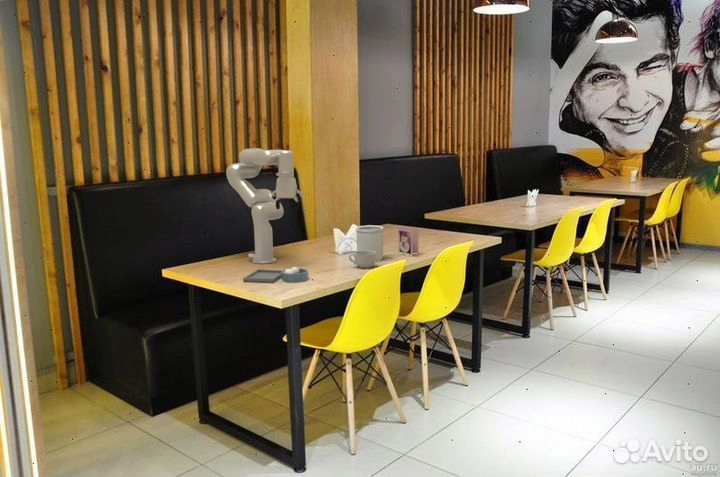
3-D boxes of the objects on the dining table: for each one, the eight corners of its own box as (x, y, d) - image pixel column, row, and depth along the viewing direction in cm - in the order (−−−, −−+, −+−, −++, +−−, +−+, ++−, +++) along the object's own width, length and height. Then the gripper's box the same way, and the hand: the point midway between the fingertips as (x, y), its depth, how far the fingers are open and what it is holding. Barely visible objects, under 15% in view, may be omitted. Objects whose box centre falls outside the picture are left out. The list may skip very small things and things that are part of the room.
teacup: (375, 264, 333) (375, 249, 332) (376, 269, 323) (376, 253, 321) (348, 265, 333) (348, 250, 331) (349, 269, 322) (348, 254, 321)
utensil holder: (381, 262, 338) (381, 229, 335) (353, 261, 341) (353, 229, 338) (385, 256, 353) (385, 225, 350) (359, 256, 356) (359, 225, 352)
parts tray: (243, 281, 300) (243, 277, 299) (257, 273, 317) (257, 269, 316) (273, 283, 296) (273, 279, 296) (286, 274, 314) (285, 270, 313)
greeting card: (397, 253, 360) (397, 227, 358) (407, 252, 365) (407, 226, 362) (411, 257, 352) (411, 230, 349) (420, 255, 356) (421, 228, 354)
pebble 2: (290, 278, 304) (286, 269, 304) (293, 277, 308) (290, 268, 309) (299, 275, 303) (295, 265, 303) (302, 274, 307) (298, 264, 308)
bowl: (278, 281, 299) (278, 273, 298) (287, 275, 311) (286, 267, 310) (303, 282, 296) (303, 274, 296) (311, 276, 308) (310, 268, 307)
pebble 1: (288, 282, 299) (280, 275, 300) (291, 280, 304) (284, 273, 304) (294, 274, 298) (286, 267, 299) (297, 272, 303) (289, 266, 303)
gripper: (267, 175, 319) (268, 209, 322) (300, 176, 315) (301, 210, 318) (272, 174, 326) (273, 207, 329) (305, 174, 322) (305, 208, 325)
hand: (287, 209), depth 324 cm, fingers open, 9 cm apart
